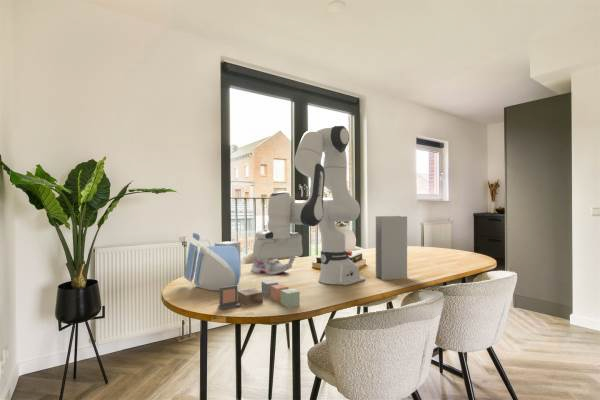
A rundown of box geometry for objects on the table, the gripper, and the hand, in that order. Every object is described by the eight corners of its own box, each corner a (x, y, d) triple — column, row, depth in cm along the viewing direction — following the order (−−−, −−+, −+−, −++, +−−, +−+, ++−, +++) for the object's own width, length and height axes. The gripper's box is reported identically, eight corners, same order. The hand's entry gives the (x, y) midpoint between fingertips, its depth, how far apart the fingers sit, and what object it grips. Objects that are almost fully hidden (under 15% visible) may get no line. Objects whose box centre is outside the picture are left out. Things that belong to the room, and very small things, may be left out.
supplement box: (241, 275, 170) (241, 242, 170) (228, 279, 162) (228, 244, 162) (227, 273, 175) (227, 240, 175) (214, 276, 168) (214, 242, 168)
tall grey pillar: (400, 275, 170) (400, 215, 169) (407, 277, 164) (407, 216, 164) (375, 277, 165) (375, 216, 165) (381, 280, 160) (381, 216, 160)
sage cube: (292, 301, 127) (292, 288, 127) (299, 305, 122) (299, 291, 122) (280, 304, 124) (280, 290, 124) (287, 307, 120) (287, 293, 120)
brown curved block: (253, 298, 131) (253, 288, 131) (262, 302, 126) (262, 292, 126) (237, 301, 127) (237, 291, 127) (245, 306, 122) (245, 295, 122)
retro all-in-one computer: (191, 230, 147) (223, 227, 159) (183, 278, 151) (215, 272, 164) (226, 252, 131) (258, 247, 144) (216, 306, 136) (248, 296, 148)
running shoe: (284, 276, 169) (284, 256, 169) (246, 272, 178) (246, 253, 178) (292, 272, 177) (292, 254, 177) (255, 269, 186) (255, 251, 186)
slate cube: (272, 291, 140) (272, 279, 140) (278, 294, 136) (278, 282, 136) (261, 293, 138) (261, 281, 138) (267, 296, 133) (267, 284, 133)
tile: (236, 304, 123) (236, 284, 123) (239, 306, 121) (239, 286, 121) (218, 307, 119) (218, 287, 119) (220, 310, 117) (220, 289, 117)
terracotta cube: (282, 296, 133) (282, 283, 133) (288, 299, 129) (288, 286, 129) (270, 298, 131) (270, 285, 131) (276, 301, 127) (276, 288, 127)
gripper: (297, 231, 138) (297, 265, 138) (251, 233, 127) (251, 270, 127) (306, 233, 133) (305, 268, 132) (258, 234, 122) (258, 273, 121)
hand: (278, 269), depth 130 cm, fingers open, 8 cm apart
